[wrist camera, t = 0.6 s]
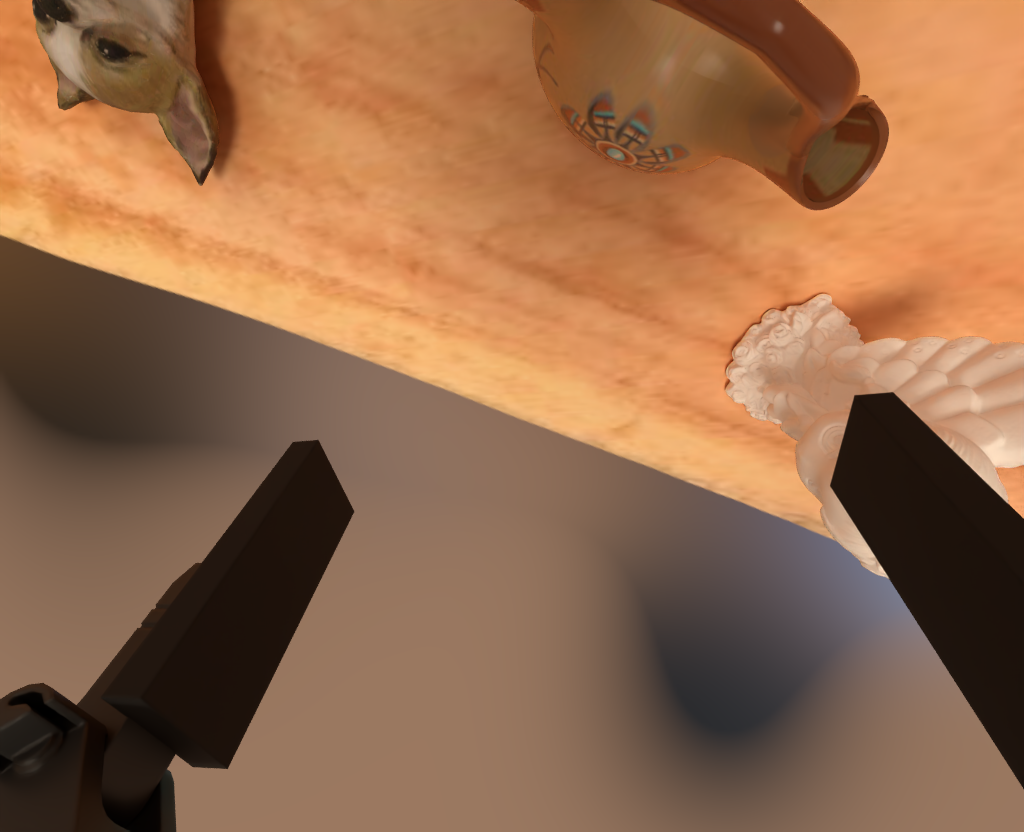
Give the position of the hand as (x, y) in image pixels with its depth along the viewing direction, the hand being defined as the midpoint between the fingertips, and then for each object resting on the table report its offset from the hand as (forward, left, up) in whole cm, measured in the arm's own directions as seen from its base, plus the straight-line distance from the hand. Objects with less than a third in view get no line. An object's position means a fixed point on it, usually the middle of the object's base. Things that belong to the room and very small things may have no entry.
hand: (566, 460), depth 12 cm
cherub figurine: (+13, +18, -27) cm, 35 cm away
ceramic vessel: (-8, +4, -27) cm, 29 cm away
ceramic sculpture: (-14, -25, -27) cm, 39 cm away
